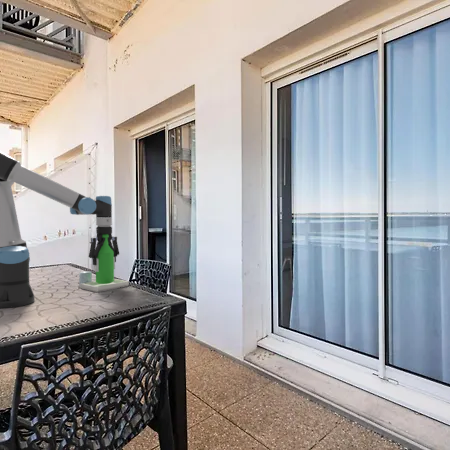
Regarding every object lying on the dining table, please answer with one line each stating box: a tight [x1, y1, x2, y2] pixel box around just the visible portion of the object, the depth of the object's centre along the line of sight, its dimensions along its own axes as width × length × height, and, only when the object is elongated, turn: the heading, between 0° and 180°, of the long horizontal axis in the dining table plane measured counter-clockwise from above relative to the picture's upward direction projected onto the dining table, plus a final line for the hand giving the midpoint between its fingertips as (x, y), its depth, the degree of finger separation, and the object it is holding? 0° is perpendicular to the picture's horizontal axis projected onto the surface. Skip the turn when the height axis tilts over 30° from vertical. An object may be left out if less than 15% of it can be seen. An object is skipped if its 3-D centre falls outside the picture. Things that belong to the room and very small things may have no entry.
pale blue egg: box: [78, 271, 93, 287], centre depth 171 cm, size 6×6×7 cm
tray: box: [79, 278, 130, 293], centre depth 166 cm, size 18×15×2 cm
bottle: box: [95, 234, 115, 284], centre depth 166 cm, size 9×9×25 cm
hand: (104, 270), depth 166 cm, fingers closed on bottle, 9 cm apart
